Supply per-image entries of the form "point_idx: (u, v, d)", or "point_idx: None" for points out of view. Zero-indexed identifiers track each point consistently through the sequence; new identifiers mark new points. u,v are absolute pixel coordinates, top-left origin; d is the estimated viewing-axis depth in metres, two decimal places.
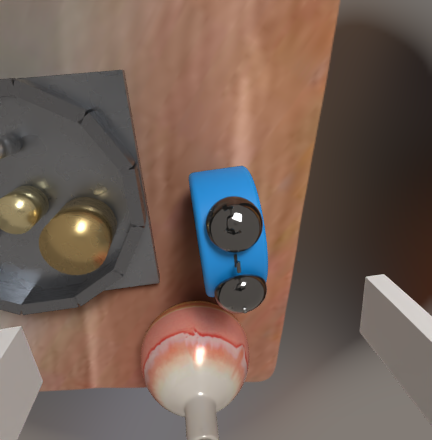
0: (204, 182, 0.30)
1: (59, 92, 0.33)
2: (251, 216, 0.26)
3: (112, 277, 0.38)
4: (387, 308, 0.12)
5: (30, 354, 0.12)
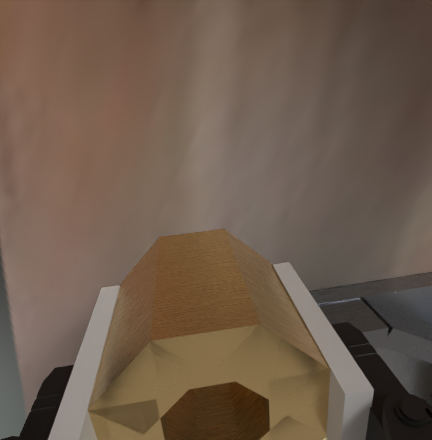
0: None
1: (398, 309, 0.23)
2: None
3: None
4: None
5: None
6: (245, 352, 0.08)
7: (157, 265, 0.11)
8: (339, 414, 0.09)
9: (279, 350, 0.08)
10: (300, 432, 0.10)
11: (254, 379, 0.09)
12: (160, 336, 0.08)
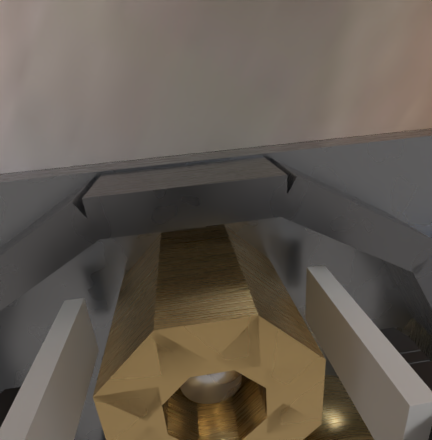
0: None
1: (331, 183, 0.14)
2: None
3: None
4: (321, 295, 0.13)
5: (90, 324, 0.13)
6: (244, 342, 0.09)
7: (160, 259, 0.12)
8: (399, 425, 0.08)
9: (276, 340, 0.09)
10: (296, 420, 0.10)
11: (252, 368, 0.09)
12: (163, 326, 0.08)
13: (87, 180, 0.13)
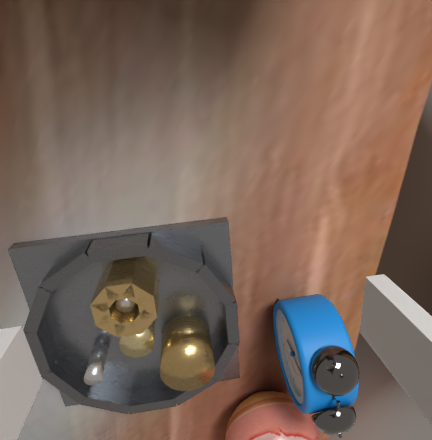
0: (303, 325, 0.37)
1: (175, 240, 0.39)
2: (353, 370, 0.33)
3: (207, 382, 0.44)
4: (387, 308, 0.12)
5: (30, 354, 0.12)
6: (129, 290, 0.34)
7: (111, 268, 0.37)
8: None
9: (138, 290, 0.34)
10: (149, 315, 0.35)
11: (132, 298, 0.34)
12: (107, 286, 0.33)
13: (88, 241, 0.38)
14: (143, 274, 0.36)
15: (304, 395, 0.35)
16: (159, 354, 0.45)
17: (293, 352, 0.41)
